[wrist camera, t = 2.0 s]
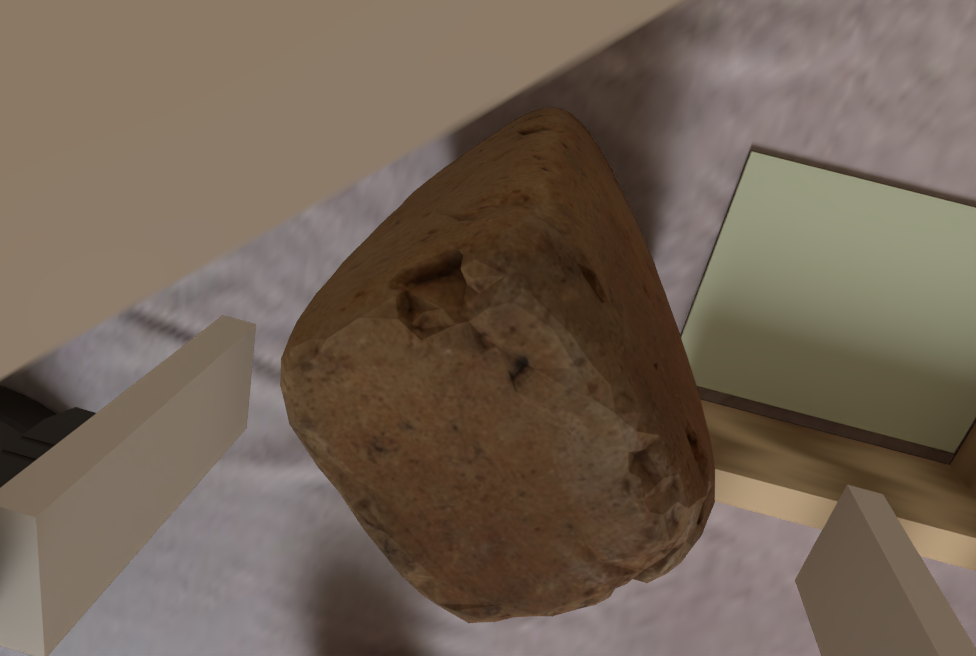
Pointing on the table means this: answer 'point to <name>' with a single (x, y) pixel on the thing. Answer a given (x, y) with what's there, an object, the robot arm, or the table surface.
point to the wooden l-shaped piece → (843, 479)
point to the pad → (841, 303)
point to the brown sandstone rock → (507, 384)
